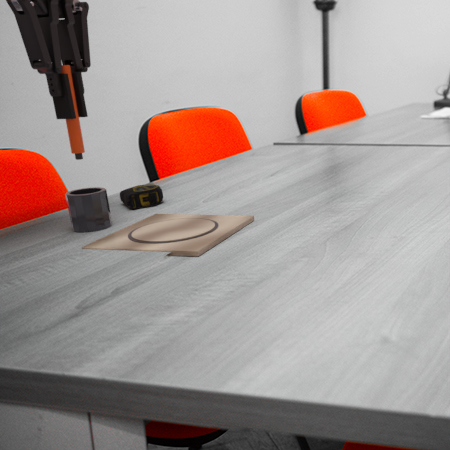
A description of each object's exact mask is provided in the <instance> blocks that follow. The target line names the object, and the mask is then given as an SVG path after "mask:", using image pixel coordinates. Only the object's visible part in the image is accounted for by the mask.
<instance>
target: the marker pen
mask: <svg viewBox="0 0 450 450" xmlns="http://www.w3.org/2000/svg"><path fill="white" fill-rule="evenodd" d="M60 74H68V78H69V83H70V88H71V93H72V99H73V104H74V109H75V114H76V119H65V124H66V129H67V130H66V131H67V135H68V141H69V147H70V152H71V154H73V155H74V158H75V160H77V161H79V160H83V159H84V156H83V153H85V152H86V151H85V144H84V139H83V133H82V128H81V127H82V126H81V121H80V117H79V115H78V109H77V103H76V97H75V92H74V86H73V80H72V74H71V68H70V65H63V64H62V73H60Z"/></svg>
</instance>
